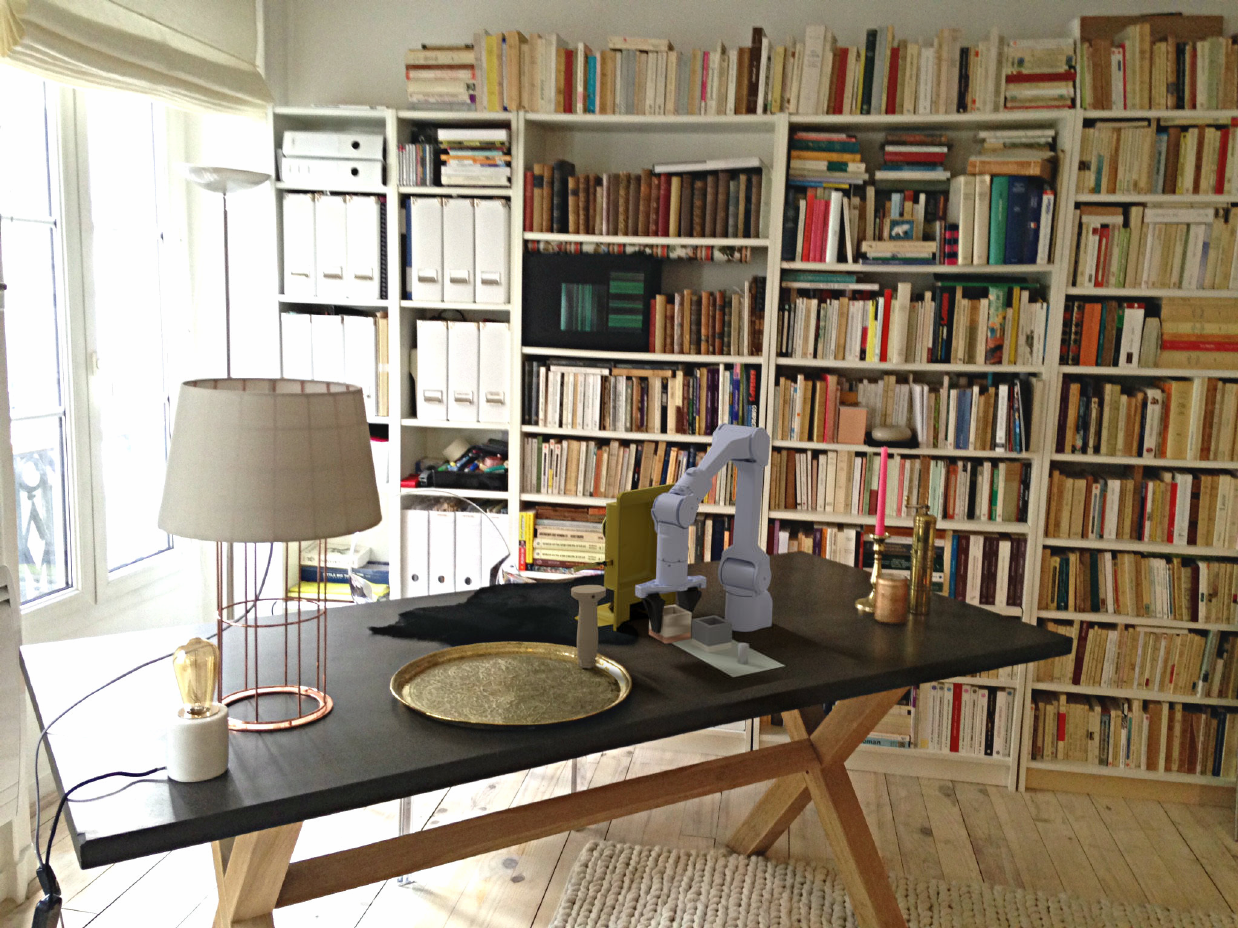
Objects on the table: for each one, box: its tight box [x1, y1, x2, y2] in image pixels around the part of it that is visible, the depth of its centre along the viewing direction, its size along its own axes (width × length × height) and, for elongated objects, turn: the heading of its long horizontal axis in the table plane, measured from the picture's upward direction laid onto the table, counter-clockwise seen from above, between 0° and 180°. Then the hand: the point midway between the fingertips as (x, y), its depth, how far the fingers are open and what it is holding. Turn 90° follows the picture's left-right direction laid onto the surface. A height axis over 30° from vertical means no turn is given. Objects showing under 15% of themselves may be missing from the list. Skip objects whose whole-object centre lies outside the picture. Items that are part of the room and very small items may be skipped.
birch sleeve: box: [648, 604, 693, 644], centre depth 188 cm, size 6×6×5 cm
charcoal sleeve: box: [691, 614, 733, 653], centre depth 197 cm, size 6×6×5 cm
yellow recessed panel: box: [572, 482, 693, 632], centre depth 214 cm, size 31×14×30 cm, turn 135°
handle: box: [570, 584, 607, 669], centre depth 188 cm, size 5×6×15 cm
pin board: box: [671, 638, 786, 678], centre depth 193 cm, size 12×20×5 cm, turn 31°
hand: (669, 629), depth 188 cm, fingers closed on birch sleeve, 6 cm apart
